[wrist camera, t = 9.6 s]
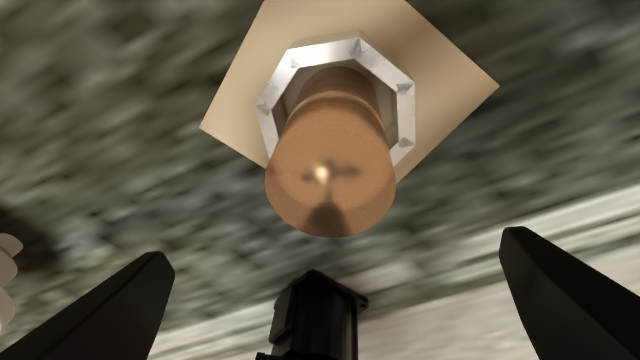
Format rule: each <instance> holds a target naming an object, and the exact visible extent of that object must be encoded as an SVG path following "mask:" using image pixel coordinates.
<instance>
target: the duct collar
mask: <svg viewBox="0 0 640 360" xmlns="http://www.w3.org/2000/svg"><path fill="white" fill-rule="evenodd" d="M347 59H355V60H357V61H358V62H359V63H360V64H362V65H363V66H364V67H365V68H367V69H368V70H369V71H371V72H372V73H373V74H374V75H376V76H377V77H378V78H379V79H381V80H382V81H383V82H384V83H386V84H387V85H388V86H390V87H391V93H392V113H393V123H392V124H391V125H390V126H389V127H388V128H387V129H386V130H385V134H386V138H387V142H388V147H389V151H390V155H391V159H392V164H393V167H394V166H395V165H396V164H397V163H398V162H399V161H400V160H401V159H402V158H403V157H404V156H405V155H406V154H407V153H408V152H409V151H410V150H411V149H412V148H413V147H414V146H415V145H416V144H415V81H414V80H413V78H412V77H411V75H410V74H409V72H408V70H407V69H406V68H404V67H403V66H402V65H401V64H400V63H398V62H397V61H396V60H395V59H393V58H392V57H391V56H390V55H389V54H387V53H386V52H385V51H384V50H383V49H381V48H380V47H379V46H378V45H376V44H375V43H374V42H373V41H372V40H370V39H369V38H368V37H367V36H366V35H364V34H363V33H362V32H361V31H359V30H354V31H348V32H342V33H337V34H331V35H326V36H320V37H314V38H309V39H303V40H298V41H297V40H296V41H295V42H294V43H293V44H292V45H291V46H290V47H289V48H288V49H287V52H286V53H285V55H284V57H283V58H282V60H281V62H280V63H279V65H278V67H277V68H276V70H275V72H274V73H273V75H272V77H271V78H270V80H269V82H268V83H267V85H266V86H265V88H264V90H263V91H262V93H261V95H260V96H259V98H258V100H257V101H256V103H255V104H254V108H255V112H256V115H257V119H258V122H259V125H260V129H261V132H262V135H263V139H264V142H265V146H266V149H267V152H268V156H269V159H270V158H271V156H272V153H273V151H274V149H275V147H276V144H277V142H278V140H279V138H280V136H281V133H282V131H283V129H284V127H285V124H286V122H287V117H286V113H285V109H284V105H283V101H282V97H281V94H282V93H283V91H284V90H285V88H286V86H287V85H288V83H289V82H290V80H291V79H292V77H293V76H294V74H295V72H296V71H297V69H298V68H299V67H305V66H311V65H317V64H323V63H329V62H335V61H341V60H347Z"/></svg>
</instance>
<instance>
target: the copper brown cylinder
mask: <svg viewBox="0 0 640 360" xmlns="http://www.w3.org/2000/svg"><path fill="white" fill-rule="evenodd" d="M264 182H265V190H266V194H267V197H268V200H269V202H270V204H271V205H272V207H273V209H274V210H275V211H276V213H277V214H278V215H279V216H280V217H281V218H282V219H283V220H284V221H286V222H287V223H288V224H290V225H291V226H293V227H294V228H296V229H298V230H300V231H302V232H305V233H308V234H311V235H315V236H320V237H329V238H335V237H346V236H351V235H354V234H357V233H360V232H363V231H365V230H367V229H369V228H370V227H372V226H374V225H375V224H376V223H377V222H379V221H380V220H381V219H382V218H383V217H384V216H385V214H386V213H387V212H388V210H389V209H390V207H391V205H392V203H393V200H394V197H395V193H396V178H395V172H394V168H393V164H392V159H391V155H390V151H389V147H388V142H387V138H386V134H385V129H384V125H383V121H382V116H381V112H380V108H379V103H378V99H377V95H376V92H375V90H374V88H373V86H372V84H371V83H370V82H369V80H368V79H367V78H366V77H365V76H364V75H362V74H361V73H359V72H358V71H356V70H353V69H350V68H347V67H339V66H336V67H329V68H325V69H322V70H320V71H318V72H316V73H315V74H313V75H312V76H311V77H310V78H309V79H308V80H307V81H306V82H305V83H304V85H303V87H302V88H301V91H300V93H299V95H298V97H297V100H296V102H295V104H294V106H293V109H292V111H291V113H290V115H289V118H288V120H287V122H286V124H285V127H284V129H283V131H282V133H281V136H280V138H279V140H278V142H277V144H276V147H275V149H274V151H273V153H272V156H271V158H270V160H269V163H268V165H267V168H266V172H265V181H264Z"/></svg>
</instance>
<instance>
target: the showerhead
mask: <svg viewBox="0 0 640 360" xmlns="http://www.w3.org/2000/svg"><path fill="white" fill-rule="evenodd" d="M22 249H23V245H22V243H21V242H20V241H19V240H18V239H17V238H15V237H14V236H12V235H9V234H6V233H0V331H1V330H2V329H3V328H4V327H5V326H6V325H7V324H8V323H9V322H10V321H11V320H12V319H13V317H14V315H15V306H14V303H13V301H12V299H11V298H10V297H9V295H8V294H7V293H6V291H5V290H4V289H3V287H4V286H5V285H6V284H7V283H9V282H10V281H11V280H12V279H13V278H14V277H15V276H16V275H17V272H18V269H17V266H16V264H15V262H14V260H13V259H12V257H14V256H15V255H16V254H17V253H19V252H20V251H21V250H22Z"/></svg>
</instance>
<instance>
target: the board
mask: <svg viewBox="0 0 640 360" xmlns="http://www.w3.org/2000/svg"><path fill="white" fill-rule="evenodd" d="M354 30H359V31H361V32H362V33H363V34H364V35H366V36H367V37H368V38H369V39H370V40H372V41H373V42H374V43H375V44H376V45H378V46H379V47H380V48H381V49H383V50H384V51H385V52H386V53H387V54H389V55H390V56H391V57H392V58H393V59H395V60H396V61H397V62H398V63H400V64H401V65H402V66H403V67H404V68H406V69H407V70H408V72H409V74H410V75H411V77H412V78H413V80H414V81H415V144H416V145H415V146H414V147H413V148H412V149H411V150H410V151H409V152H408V153H407V154H406V155H405V156H404V157H403V158H402V159H401V160H400V161H399V162H398V163H397V164H396V165H395V166H394V167H393V168H394V172H395V178H396V184H397V183H398V182H399V181H400V180H401V179H402V178H403V177H404V176H405V175H406V174H407V173H408V172H409V171H410V170H412V169H413V168H414V167H415V166H416V165H417V164H418V163H419V162H420V161H421V160H422V159H423V158H424V157H425V156H426V155H427V154H428V153H430V152H431V151H432V150H433V149H434V148H435V147H436V146H437V145H438V144H439V143H440V142H441V141H442V140H443V139H444V138H445V137H446V136H447V135H449V134H450V133H451V132H452V131H453V130H454V129H455V128H456V127H457V126H458V125H459V124H460V123H461V122H462V121H463V120H464V119H465V118H467V117H468V116H469V115H470V114H471V113H472V112H473V111H474V110H475V109H476V108H477V107H478V106H479V105H480V104H481V103H482V102H483V101H485V100H486V99H487V98H488V97H489V96H490V95H491V94H492V93H493V92H494V91H495V90H496V89H497V88H498V87H499V86H500V85H498V84H497V83H496V82H495V81H494V80H493V79H492V78H491V77H490V76H488V75H487V74H486V73H485V72H484V71H483V70H482V69H481V68H480V67H478V66H477V65H476V64H475V63H474V62H473V61H472V60H471V59H470V58H468V57H467V56H466V55H465V54H464V53H463V52H462V51H461V50H460V49H458V48H457V47H456V46H455V45H454V44H453V43H452V42H451V41H450V40H448V39H447V38H446V37H445V36H444V35H443V34H442V33H441V32H440V31H438V30H437V29H436V28H435V27H434V26H433V25H432V24H431V23H430V22H428V21H427V20H426V19H425V18H424V17H423V16H422V15H421V14H420V13H418V12H417V11H416V10H415V9H414V8H413V7H412V6H411V5H410V4H408V3H407V2H406V1H405V0H264V2H263V4H262V6H261V8H260V10H259V12H258V14H257V16H256V18H255V20H254V21H253V23H252V25H251V27H250V29H249V31H248V33H247V35H246V37H245V39H244V41H243V43H242V45H241V47H240V49H239V51H238V53H237V55H236V57H235V58H234V60H233V62H232V64H231V66H230V68H229V70H228V72H227V74H226V76H225V78H224V80H223V82H222V84H221V86H220V88H219V90H218V92H217V93H216V95H215V97H214V99H213V101H212V103H211V105H210V107H209V109H208V111H207V113H206V115H205V117H204V119H203V121H202V123H201V125H200V127H199V128H200V129H202V130H203V131H205V132H207V133H208V134H210V135H212V136H213V137H215V138H216V139H218V140H220V141H221V142H223V143H225V144H226V145H228V146H229V147H231V148H233V149H234V150H236V151H238V152H239V153H241V154H242V155H244V156H246V157H247V158H249V159H251V160H252V161H254V162H255V163H257V164H259V165H260V166H262V167H264V168H265V169H266V168H267V165H268V163H269V160H270V159H269V156H268V152H267V149H266V146H265V142H264V139H263V135H262V132H261V129H260V125H259V122H258V119H257V115H256V112H255V108H254V104H255V103H256V101H257V100H258V98H259V96H260V95H261V93H262V91H263V90H264V88H265V86H266V85H267V83H268V82H269V80H270V78H271V77H272V75H273V73H274V72H275V70H276V68H277V67H278V65H279V63H280V62H281V60H282V58H283V57H284V55H285V53H286V52H287V49H288V48H289V47H290V46H291V45H292V44H293V43H294V42H295V41H296V40H297V41H298V40H303V39H309V38H314V37H320V36H326V35H331V34H337V33H342V32H348V31H354ZM336 66H339V67H347V68H350V69H353V70H356V71H358V72H359V73H361V74H362V75H364V76H365V77H366V78H367V79H368V80H369V82H370V83H371V84H372V86H373V88H374V90H375V92H376V95H377V99H378V103H379V108H380V112H381V116H382V121H383V125H384V129H385V130H386V129H387V128H388V127H389V126H390V125H391V124H392V123H393V113H392V93H391V87H390V86H388V85H387V84H386V83H384V82H383V81H382V80H381V79H379V78H378V77H377V76H376V75H374V74H373V73H372V72H371V71H369V70H368V69H367V68H365V67H364V66H363V65H362V64H360V63H359V62H358V61H357V60H355V59H347V60H341V61H335V62H329V63H323V64H317V65H311V66H305V67H299V68H298V69H297V71H296V72H295V74H294V76H293V77H292V79H291V80H290V82H289V83H288V85H287V86H286V88H285V90H284V91H283V93H282V94H281V97H282V101H283V105H284V109H285V113H286V117H287V120H288V118H289V115H290V113H291V111H292V109H293V106H294V104H295V102H296V100H297V97H298V95H299V93H300V91H301V88H302V87H303V85H304V83H305V82H306V81H307V80H308V79H309V78H310V77H311V76H312V75H313V74H315V73H316V72H318V71H320V70H322V69H325V68H329V67H336Z"/></svg>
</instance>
